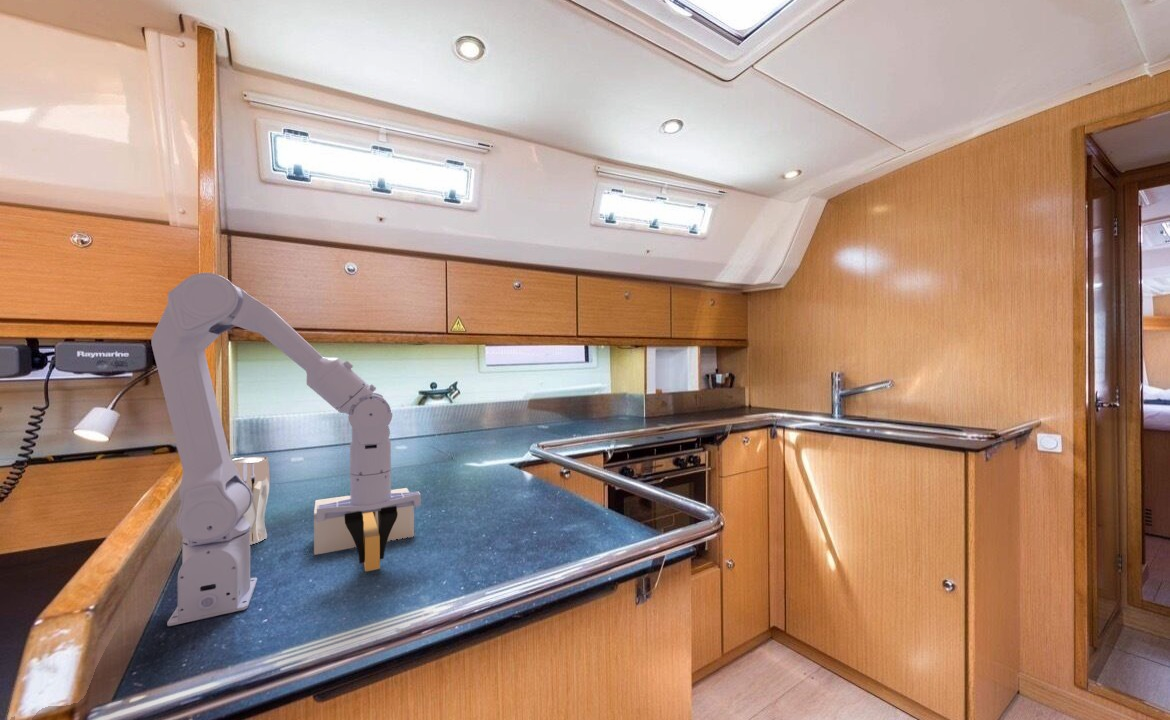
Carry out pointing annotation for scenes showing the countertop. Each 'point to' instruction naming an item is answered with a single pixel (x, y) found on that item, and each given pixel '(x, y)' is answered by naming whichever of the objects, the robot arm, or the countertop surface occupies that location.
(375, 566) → the tab
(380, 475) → the robot arm
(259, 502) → the beer glass
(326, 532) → the dispenser
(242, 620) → the countertop surface
